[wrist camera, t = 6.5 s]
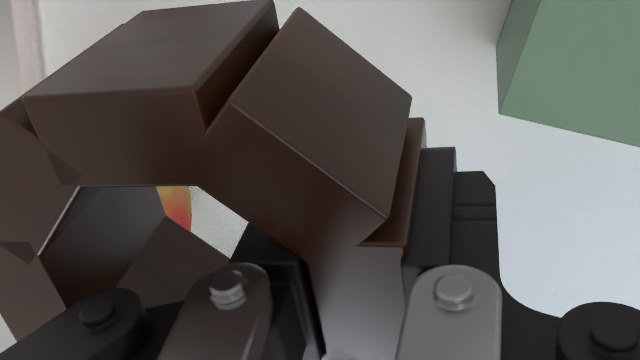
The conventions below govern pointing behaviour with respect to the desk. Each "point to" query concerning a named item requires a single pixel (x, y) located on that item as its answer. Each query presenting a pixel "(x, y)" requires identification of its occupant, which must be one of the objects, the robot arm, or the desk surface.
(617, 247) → the desk surface
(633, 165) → the desk surface
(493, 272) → the robot arm
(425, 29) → the desk surface
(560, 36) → the riser
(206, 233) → the desk surface
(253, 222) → the ring
